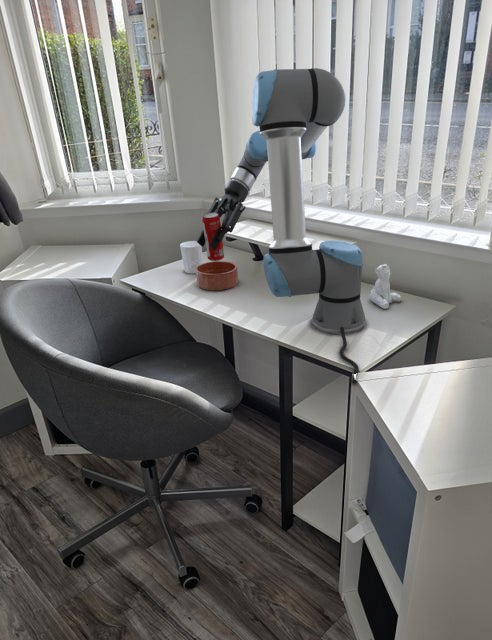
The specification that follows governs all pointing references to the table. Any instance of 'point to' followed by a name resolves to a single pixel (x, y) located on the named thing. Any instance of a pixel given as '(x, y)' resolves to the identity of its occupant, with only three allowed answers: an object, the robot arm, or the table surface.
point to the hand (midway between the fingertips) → (205, 246)
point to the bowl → (217, 275)
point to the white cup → (191, 255)
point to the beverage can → (210, 228)
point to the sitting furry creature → (383, 288)
